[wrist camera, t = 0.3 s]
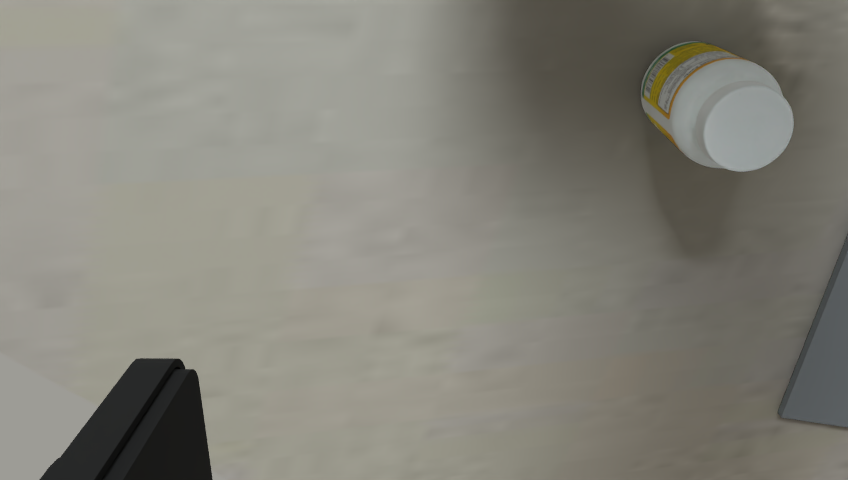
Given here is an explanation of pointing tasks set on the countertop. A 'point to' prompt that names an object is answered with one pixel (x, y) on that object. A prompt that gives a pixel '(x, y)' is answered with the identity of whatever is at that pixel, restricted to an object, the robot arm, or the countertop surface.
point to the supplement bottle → (717, 107)
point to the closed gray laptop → (824, 359)
